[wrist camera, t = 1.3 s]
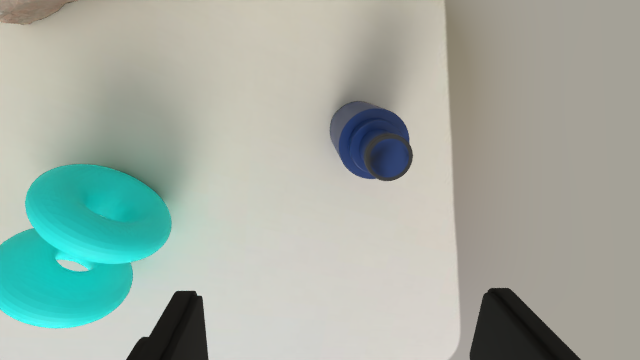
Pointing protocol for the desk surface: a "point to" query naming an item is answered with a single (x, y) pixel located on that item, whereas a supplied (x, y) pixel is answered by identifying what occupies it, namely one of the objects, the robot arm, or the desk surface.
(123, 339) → the desk surface
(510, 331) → the robot arm
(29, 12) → the brick
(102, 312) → the pair of turquoise discs
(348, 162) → the bottle
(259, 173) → the desk surface
